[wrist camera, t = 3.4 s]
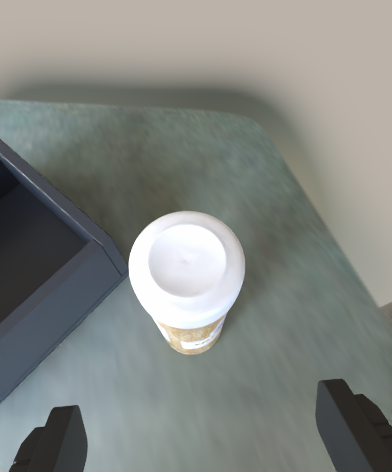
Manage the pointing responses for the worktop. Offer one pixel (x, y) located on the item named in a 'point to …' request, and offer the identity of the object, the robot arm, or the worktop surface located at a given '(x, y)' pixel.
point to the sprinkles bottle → (187, 277)
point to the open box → (45, 268)
